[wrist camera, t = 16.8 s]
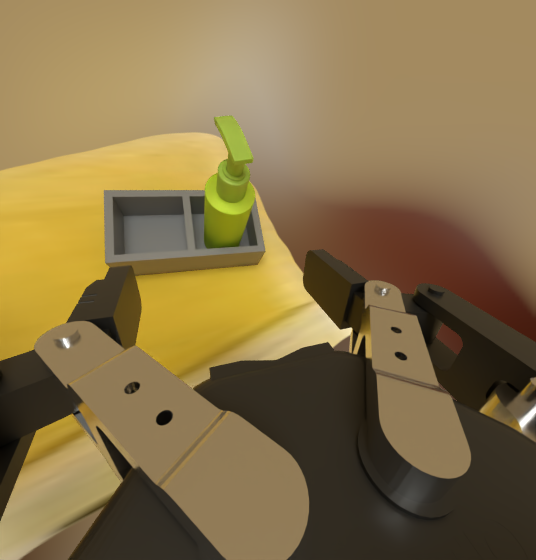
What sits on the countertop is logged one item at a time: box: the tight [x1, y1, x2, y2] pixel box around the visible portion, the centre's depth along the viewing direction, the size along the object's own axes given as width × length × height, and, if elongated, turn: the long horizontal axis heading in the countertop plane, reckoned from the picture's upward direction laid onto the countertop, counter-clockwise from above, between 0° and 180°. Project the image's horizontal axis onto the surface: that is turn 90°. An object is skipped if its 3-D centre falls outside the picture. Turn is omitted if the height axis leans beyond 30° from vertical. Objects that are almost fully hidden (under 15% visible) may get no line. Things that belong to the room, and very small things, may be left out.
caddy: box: [104, 190, 265, 276], centre depth 38 cm, size 21×10×6 cm, turn 101°
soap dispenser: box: [204, 116, 255, 249], centre depth 32 cm, size 6×7×20 cm
